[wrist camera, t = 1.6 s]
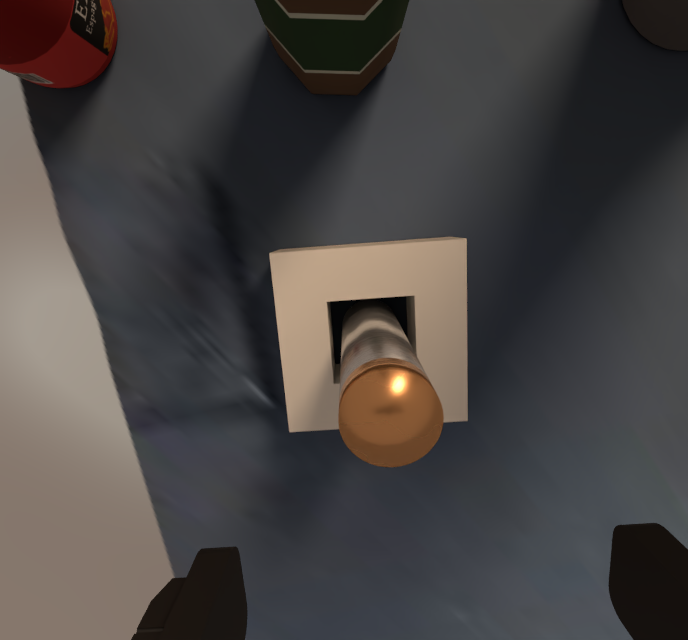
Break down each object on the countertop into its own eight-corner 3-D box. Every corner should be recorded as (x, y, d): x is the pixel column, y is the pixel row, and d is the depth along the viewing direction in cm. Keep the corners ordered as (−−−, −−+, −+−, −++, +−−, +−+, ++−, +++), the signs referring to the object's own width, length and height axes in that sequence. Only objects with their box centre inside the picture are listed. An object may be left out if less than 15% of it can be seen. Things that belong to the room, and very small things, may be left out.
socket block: (450, 236, 29) (466, 238, 25) (452, 396, 31) (467, 420, 28) (279, 249, 29) (269, 253, 25) (296, 406, 32) (289, 432, 28)
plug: (395, 297, 30) (442, 366, 15) (398, 350, 31) (444, 463, 16) (340, 301, 30) (334, 373, 15) (344, 353, 31) (342, 470, 16)
